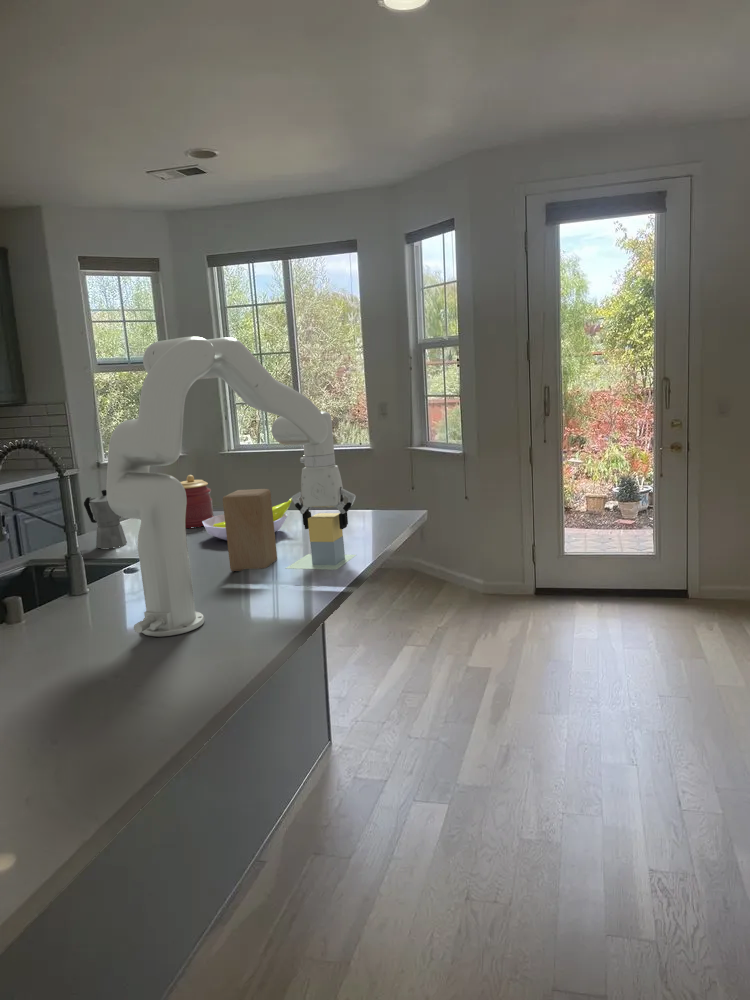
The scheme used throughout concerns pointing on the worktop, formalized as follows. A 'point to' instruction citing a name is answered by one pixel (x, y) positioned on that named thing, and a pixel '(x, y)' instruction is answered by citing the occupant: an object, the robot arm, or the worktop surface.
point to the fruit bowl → (218, 528)
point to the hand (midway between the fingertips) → (325, 528)
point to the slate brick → (327, 552)
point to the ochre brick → (324, 527)
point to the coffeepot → (105, 522)
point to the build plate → (307, 564)
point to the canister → (197, 502)
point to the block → (250, 529)
